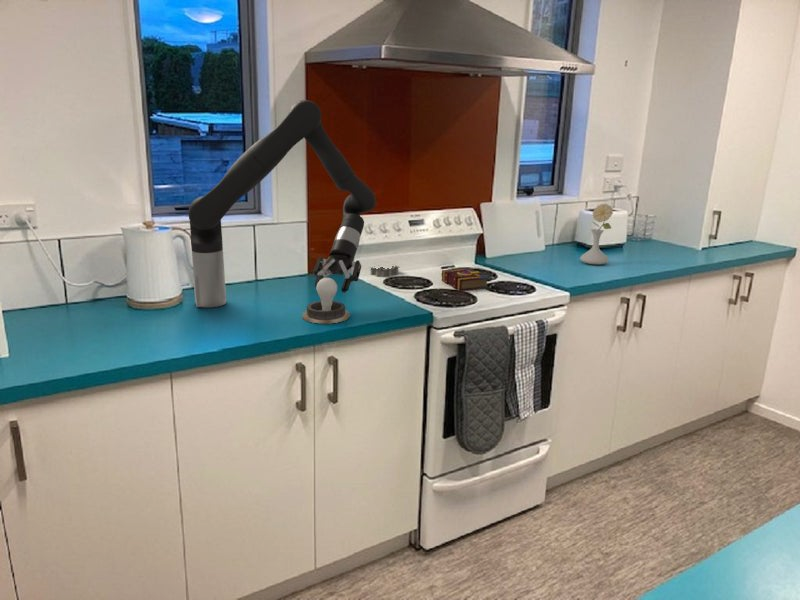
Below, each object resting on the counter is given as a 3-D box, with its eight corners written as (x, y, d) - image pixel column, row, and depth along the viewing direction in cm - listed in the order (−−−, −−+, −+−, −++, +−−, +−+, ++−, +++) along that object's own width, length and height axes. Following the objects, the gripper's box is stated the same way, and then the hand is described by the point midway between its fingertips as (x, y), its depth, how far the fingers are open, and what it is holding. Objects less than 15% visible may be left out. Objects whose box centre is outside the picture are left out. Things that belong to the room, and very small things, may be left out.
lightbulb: (312, 314, 189) (312, 278, 186) (323, 309, 195) (324, 274, 192) (329, 318, 187) (329, 281, 184) (340, 313, 192) (341, 277, 189)
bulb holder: (308, 326, 182) (307, 315, 181) (297, 312, 195) (297, 301, 194) (355, 321, 187) (355, 310, 186) (342, 307, 199) (342, 297, 198)
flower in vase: (573, 261, 266) (579, 201, 259) (595, 259, 271) (601, 200, 264) (595, 268, 255) (601, 205, 248) (617, 266, 259) (624, 204, 252)
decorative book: (459, 292, 220) (460, 278, 218) (439, 280, 234) (439, 267, 232) (488, 289, 224) (489, 275, 222) (467, 278, 238) (467, 265, 237)
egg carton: (389, 270, 248) (390, 260, 247) (401, 274, 242) (401, 264, 241) (367, 274, 242) (367, 263, 240) (378, 278, 236) (378, 267, 235)
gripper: (320, 236, 197) (304, 281, 190) (363, 239, 193) (348, 286, 186) (328, 249, 204) (313, 293, 197) (370, 253, 199) (355, 298, 192)
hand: (330, 289), depth 191 cm, fingers open, 8 cm apart
